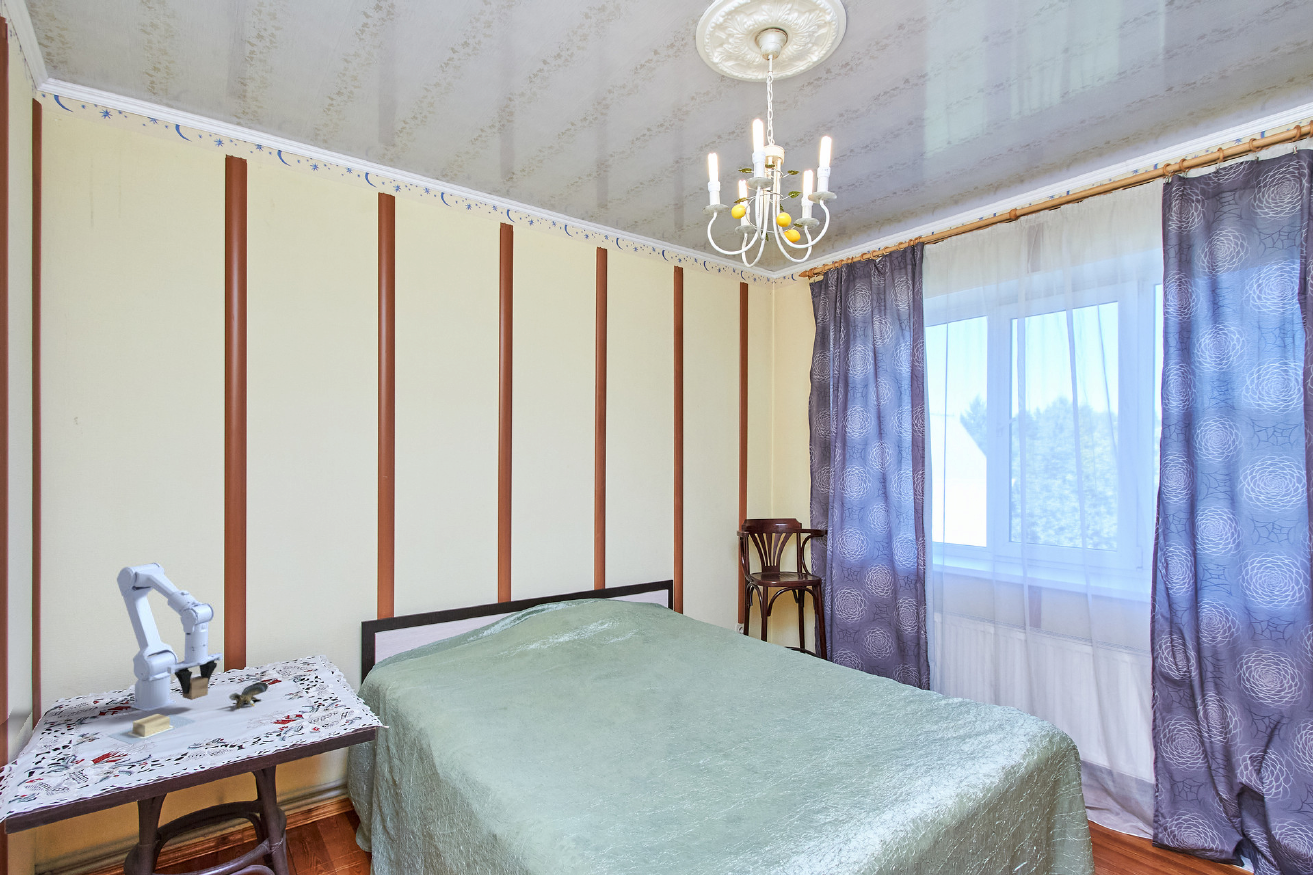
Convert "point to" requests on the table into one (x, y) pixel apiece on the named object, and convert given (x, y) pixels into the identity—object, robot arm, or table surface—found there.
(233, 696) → the eagle figurine
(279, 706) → the table surface
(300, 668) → the table surface
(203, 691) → the walnut block
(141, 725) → the oak slab
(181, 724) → the board
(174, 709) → the table surface
